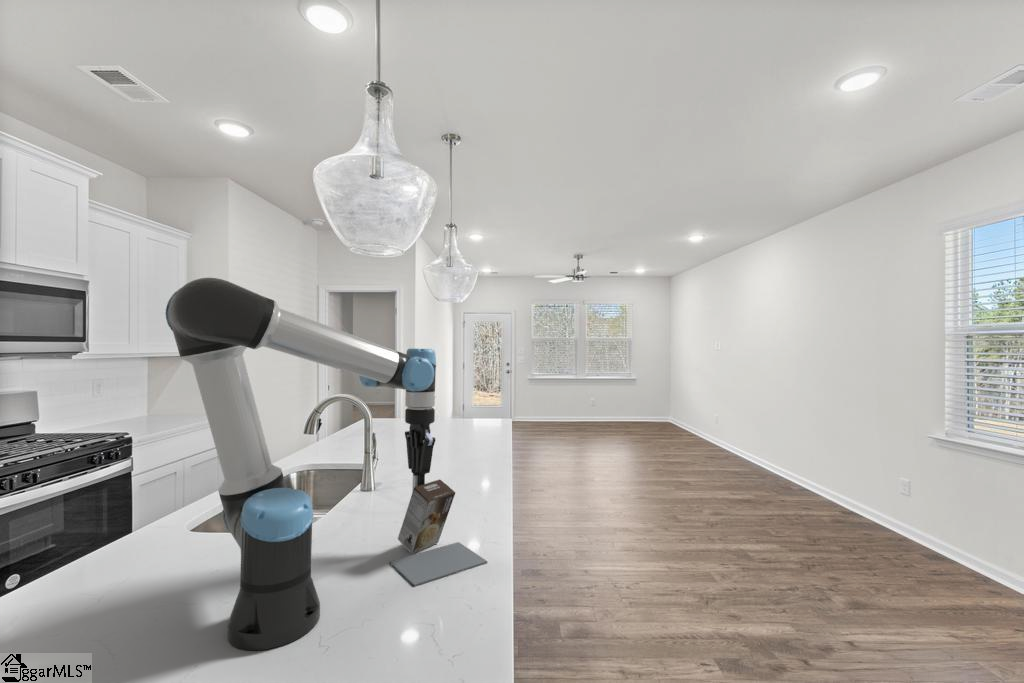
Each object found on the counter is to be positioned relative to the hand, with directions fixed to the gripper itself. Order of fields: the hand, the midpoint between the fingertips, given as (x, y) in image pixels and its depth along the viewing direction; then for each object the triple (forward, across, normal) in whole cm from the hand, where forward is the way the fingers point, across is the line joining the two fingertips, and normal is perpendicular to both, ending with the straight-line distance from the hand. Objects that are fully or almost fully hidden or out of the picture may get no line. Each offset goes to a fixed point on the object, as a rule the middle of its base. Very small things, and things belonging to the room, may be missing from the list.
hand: (418, 498), depth 119 cm
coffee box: (+11, 0, 0) cm, 11 cm away
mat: (+12, -11, 0) cm, 17 cm away
